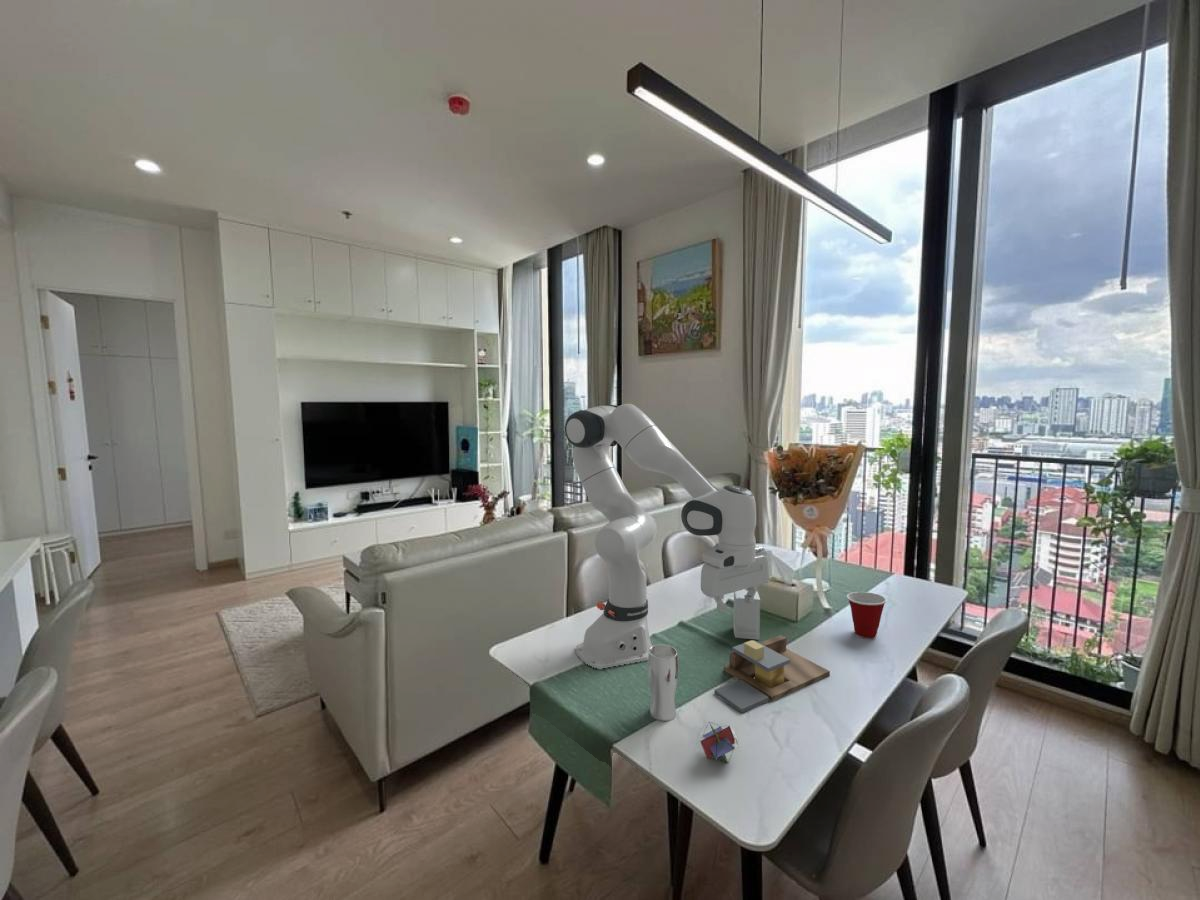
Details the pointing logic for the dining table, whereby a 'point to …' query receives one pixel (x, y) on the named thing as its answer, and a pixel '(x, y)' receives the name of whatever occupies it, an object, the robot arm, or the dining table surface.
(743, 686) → the slate coaster
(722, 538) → the robot arm
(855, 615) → the plastic cup
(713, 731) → the geometric puzzle
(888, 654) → the dining table surface
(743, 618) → the supplement box
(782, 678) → the ochre block
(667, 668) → the beer glass
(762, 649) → the sliding cover
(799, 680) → the puzzle board
